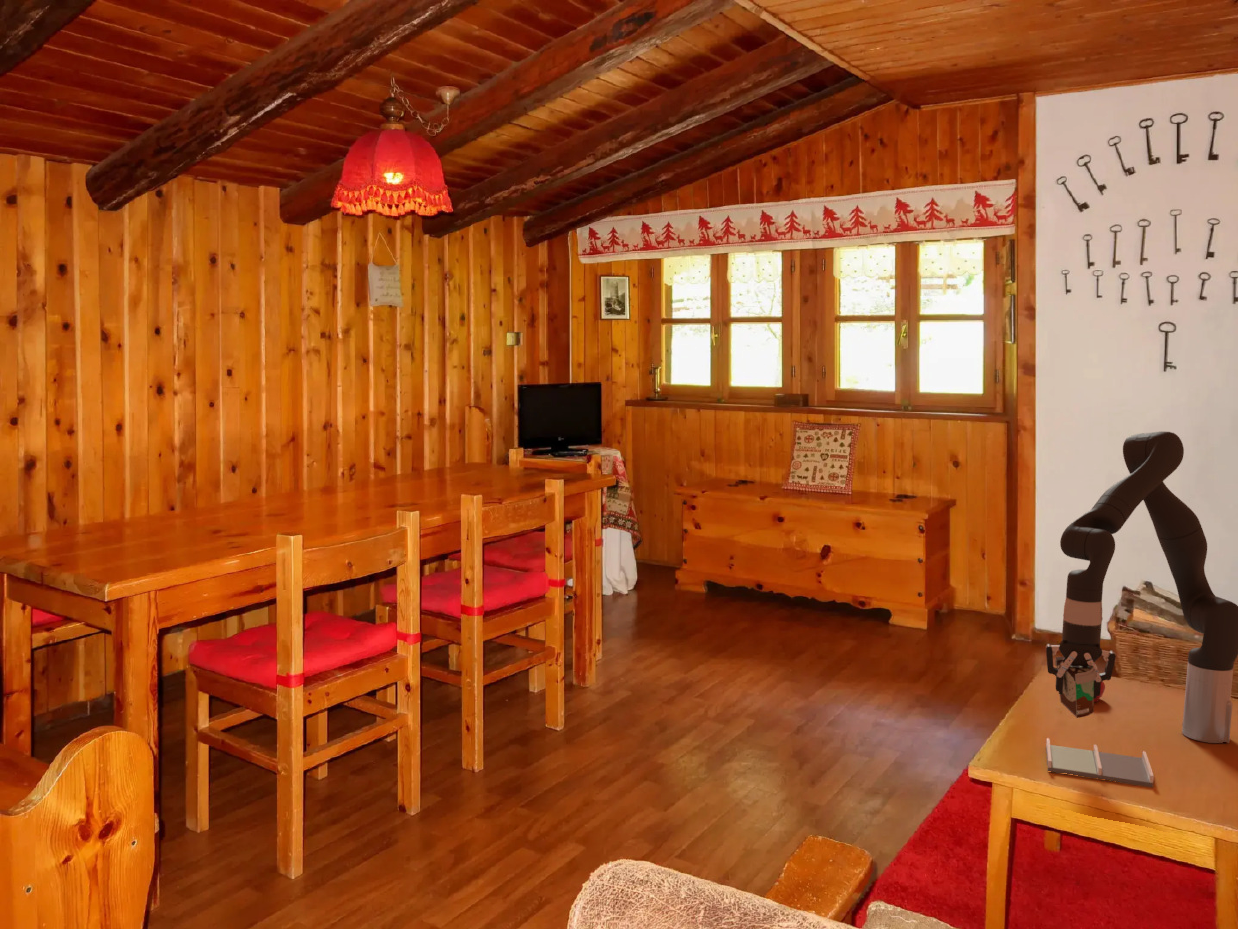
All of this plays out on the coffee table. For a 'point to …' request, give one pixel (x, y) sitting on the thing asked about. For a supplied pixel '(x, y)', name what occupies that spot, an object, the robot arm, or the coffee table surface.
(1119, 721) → the coffee table surface
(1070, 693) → the food container
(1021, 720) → the coffee table surface
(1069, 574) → the robot arm
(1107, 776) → the sorting board
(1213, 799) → the coffee table surface
